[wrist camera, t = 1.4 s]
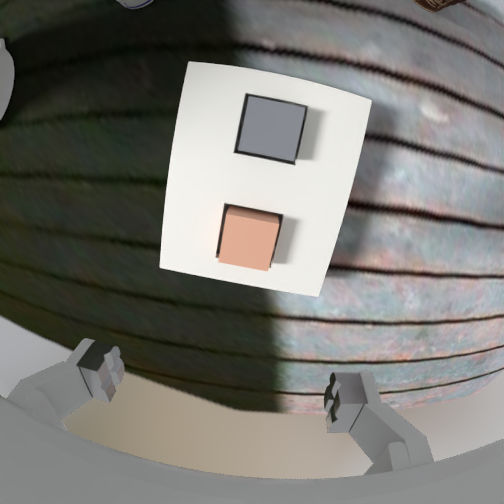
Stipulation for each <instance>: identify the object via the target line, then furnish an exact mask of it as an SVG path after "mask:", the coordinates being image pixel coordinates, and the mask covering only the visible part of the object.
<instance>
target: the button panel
mask: <svg viewBox="0 0 504 504" xmlns="http://www.w3.org/2000/svg"><path fill="white" fill-rule="evenodd" d="M249 96H251V97H256V98H262V99H267V100H272V101H277V102H281V103H286V104H290V105H295V106H299V107H303V108H305V113H304V117H303V122H302V127H301V131H300V136H299V140H298V145H297V149H296V154H295V158H294V161H290V160H285V159H281V158H276V157H271V156H266V155H261V154H256V153H251V152H246V151H240V150H238V148H239V143H240V138H241V133H242V128H243V123H244V118H245V113H246V108H247V103H248V98H249ZM371 103H372V100H370V99H367V98H364V97H361V96H358V95H355V94H352V93H349V92H346V91H343V90H339V89H336V88H333V87H329V86H326V85H322V84H318V83H315V82H311V81H307V80H303V79H299V78H294V77H290V76H286V75H281V74H276V73H271V72H266V71H260V70H255V69H249V68H242V67H235V66H228V65H220V64H211V63H201V62H188V66H187V71H186V75H185V80H184V85H183V90H182V95H181V100H180V105H179V110H178V116H177V122H176V127H175V133H174V140H173V146H172V153H171V160H170V167H169V174H168V182H167V191H166V199H165V209H164V219H163V230H162V242H161V256H160V268H164V269H169V270H174V271H179V272H184V273H188V274H193V275H199V276H204V277H209V278H214V279H219V280H224V281H230V282H235V283H240V284H246V285H251V286H257V287H262V288H268V289H273V290H279V291H285V292H291V293H297V294H303V295H309V296H315V297H318V295H319V292H320V289H321V287H322V284H323V281H324V278H325V275H326V272H327V269H328V266H329V262H330V259H331V256H332V253H333V250H334V247H335V243H336V240H337V237H338V234H339V230H340V227H341V224H342V220H343V217H344V213H345V210H346V206H347V203H348V199H349V195H350V192H351V188H352V184H353V180H354V177H355V173H356V169H357V165H358V161H359V157H360V153H361V148H362V144H363V140H364V135H365V131H366V126H367V122H368V117H369V112H370V108H371ZM230 204H233V205H238V206H244V207H249V208H254V209H259V210H264V211H269V212H274V213H277V215H278V220H279V228H278V232H277V236H276V240H275V245H274V249H273V253H272V257H271V261H270V265H269V269H268V271H263V270H257V269H252V268H246V267H241V266H236V265H231V264H225V263H220V262H218V261H219V254H220V248H221V242H222V236H223V230H224V225H225V219H226V214H227V211H228V209H229V206H230Z"/></svg>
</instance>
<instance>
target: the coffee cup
mask: <svg viewBox="0 0 504 504" xmlns="http://www.w3.org/2000/svg"><path fill="white" fill-rule="evenodd" d="M413 1H414V2H415V3H416V4H418V5H419V6H420V7H422V8H423V9H425V10H427V11H431V12H437V11H440V10H442V9H443V8H445V7H447V6H450V5H455V4H457V3H461V2H464V1H466V0H413Z"/></svg>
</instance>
